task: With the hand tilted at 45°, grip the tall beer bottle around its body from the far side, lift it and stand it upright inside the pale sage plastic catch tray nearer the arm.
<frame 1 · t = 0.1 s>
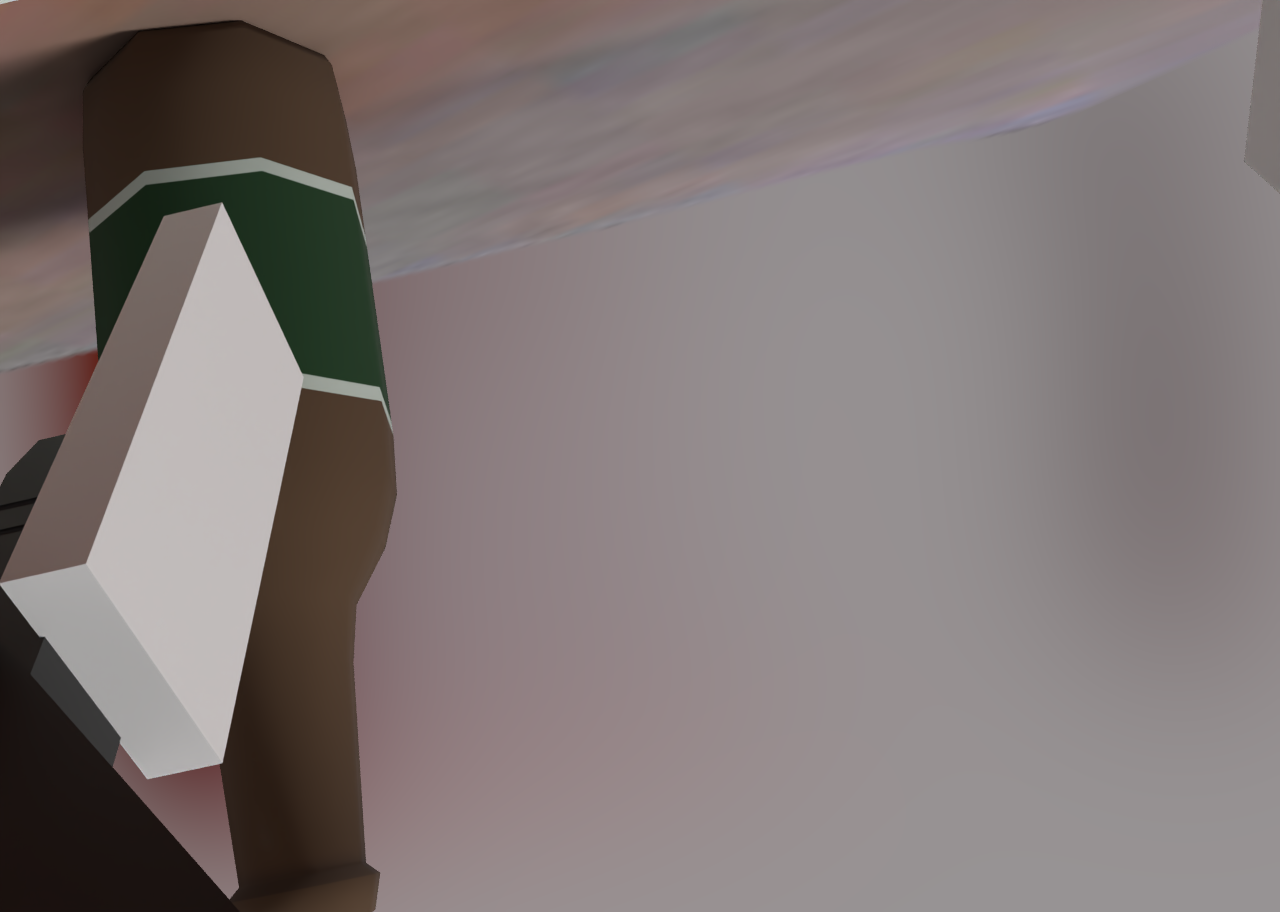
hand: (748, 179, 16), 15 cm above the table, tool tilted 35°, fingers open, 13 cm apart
beer bottle: (219, 89, 37), on the table
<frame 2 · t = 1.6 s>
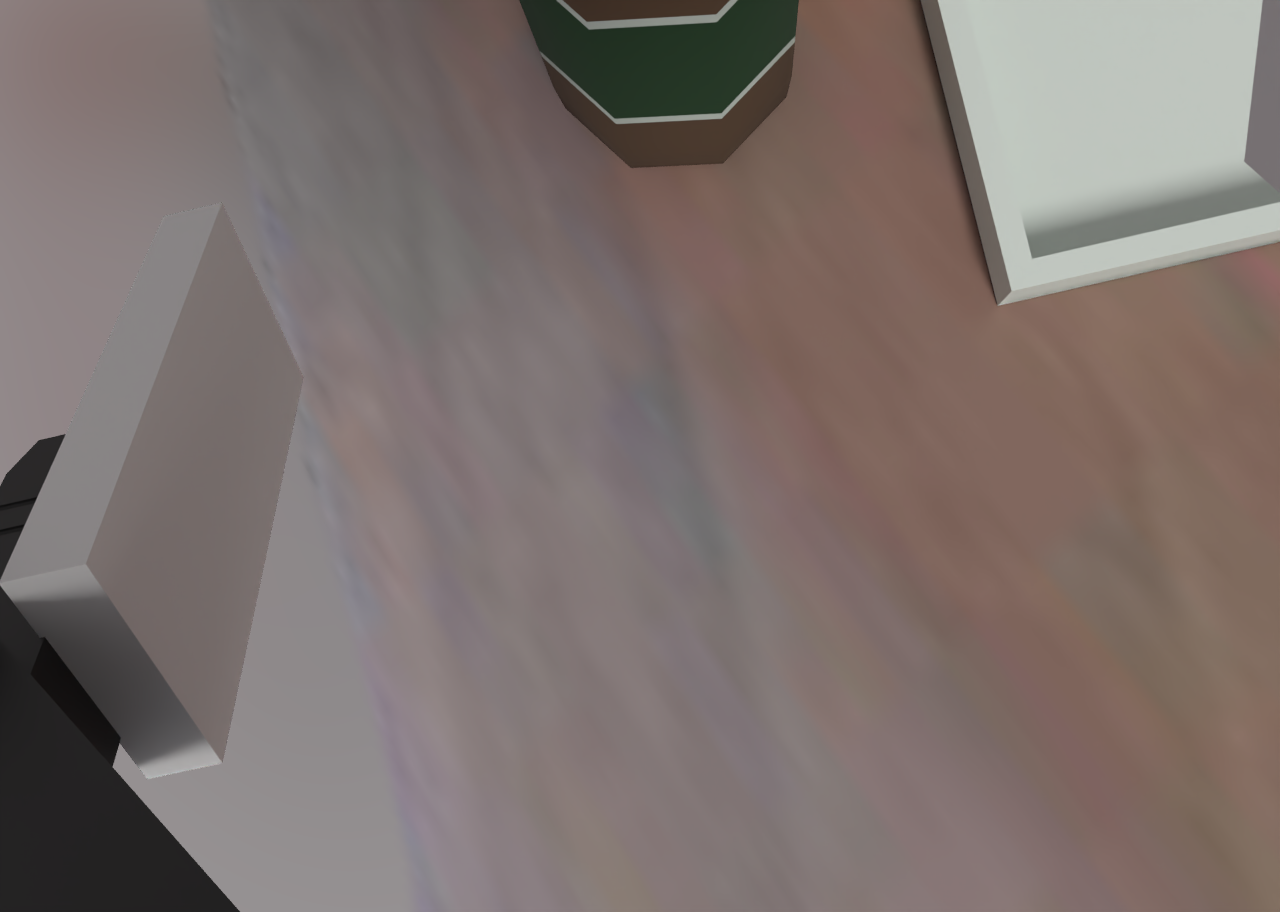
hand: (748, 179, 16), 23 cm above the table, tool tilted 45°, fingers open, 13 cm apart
beer bottle: (675, 66, 40), on the table
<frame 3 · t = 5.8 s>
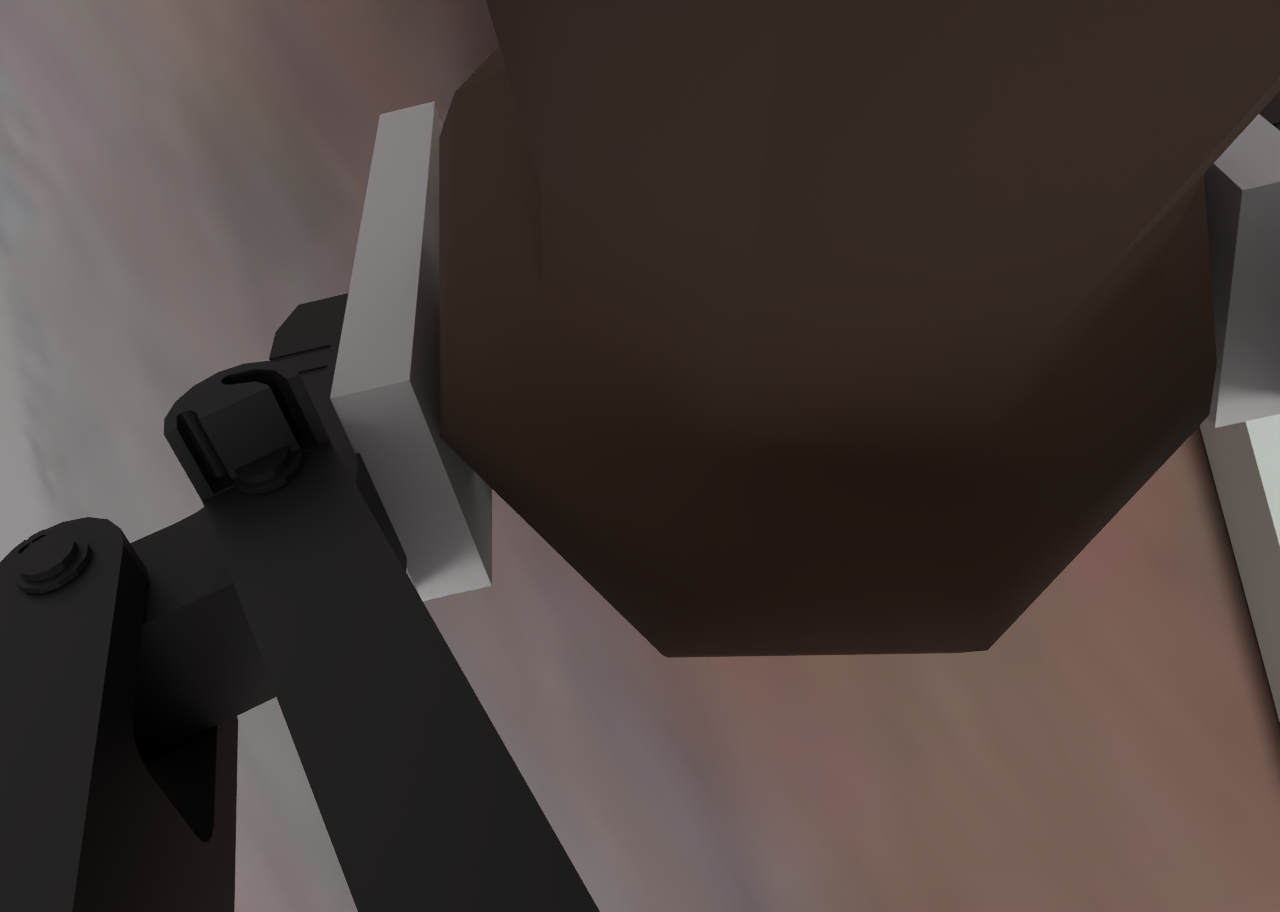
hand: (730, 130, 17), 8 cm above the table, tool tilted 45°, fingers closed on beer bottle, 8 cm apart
beer bottle: (769, 436, 24), on the table, touching gripper
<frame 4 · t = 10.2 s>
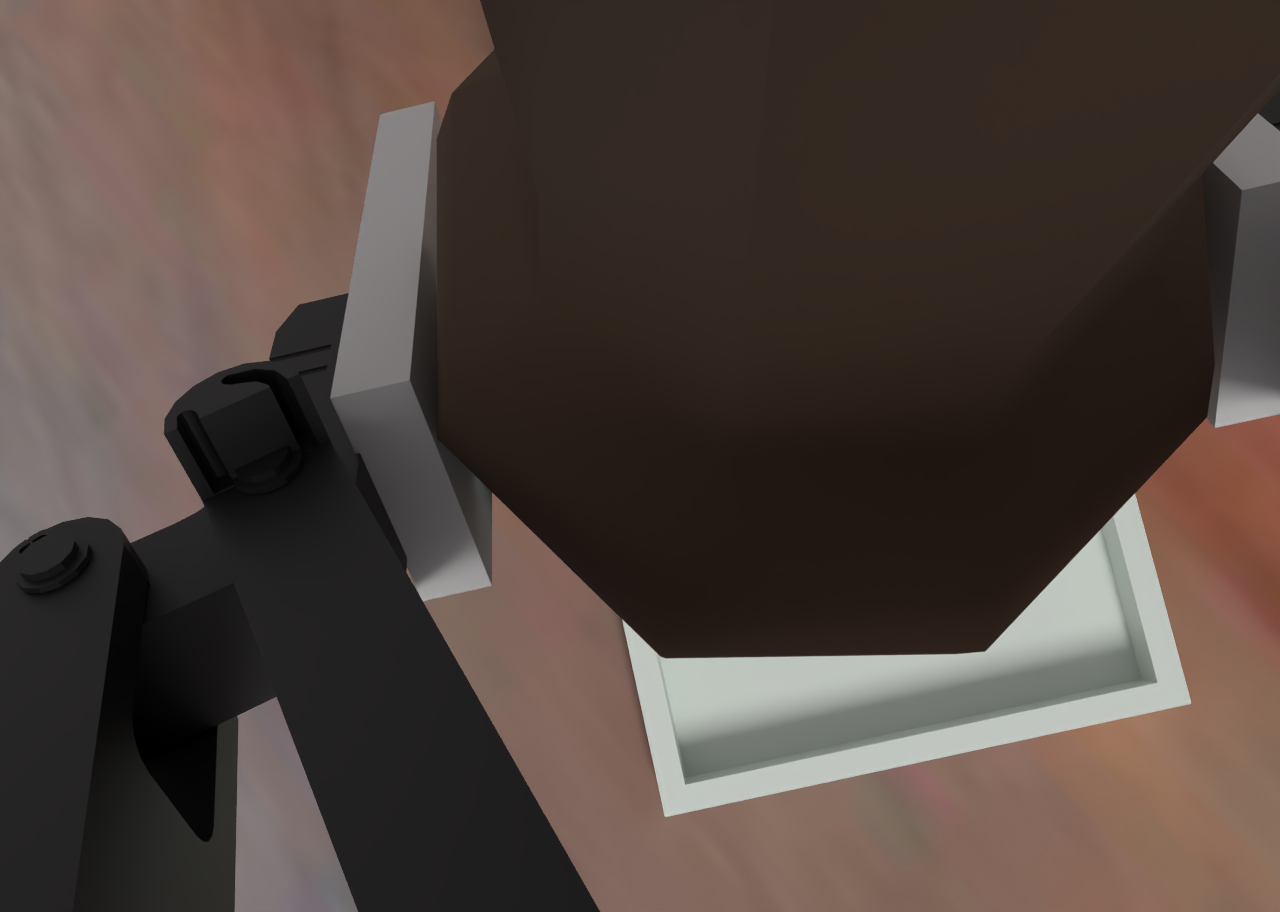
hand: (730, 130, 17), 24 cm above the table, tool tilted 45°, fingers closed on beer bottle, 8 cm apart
catch tray: (848, 474, 40), on the table
beer bottle: (768, 437, 24), point 16 cm above the table, touching gripper
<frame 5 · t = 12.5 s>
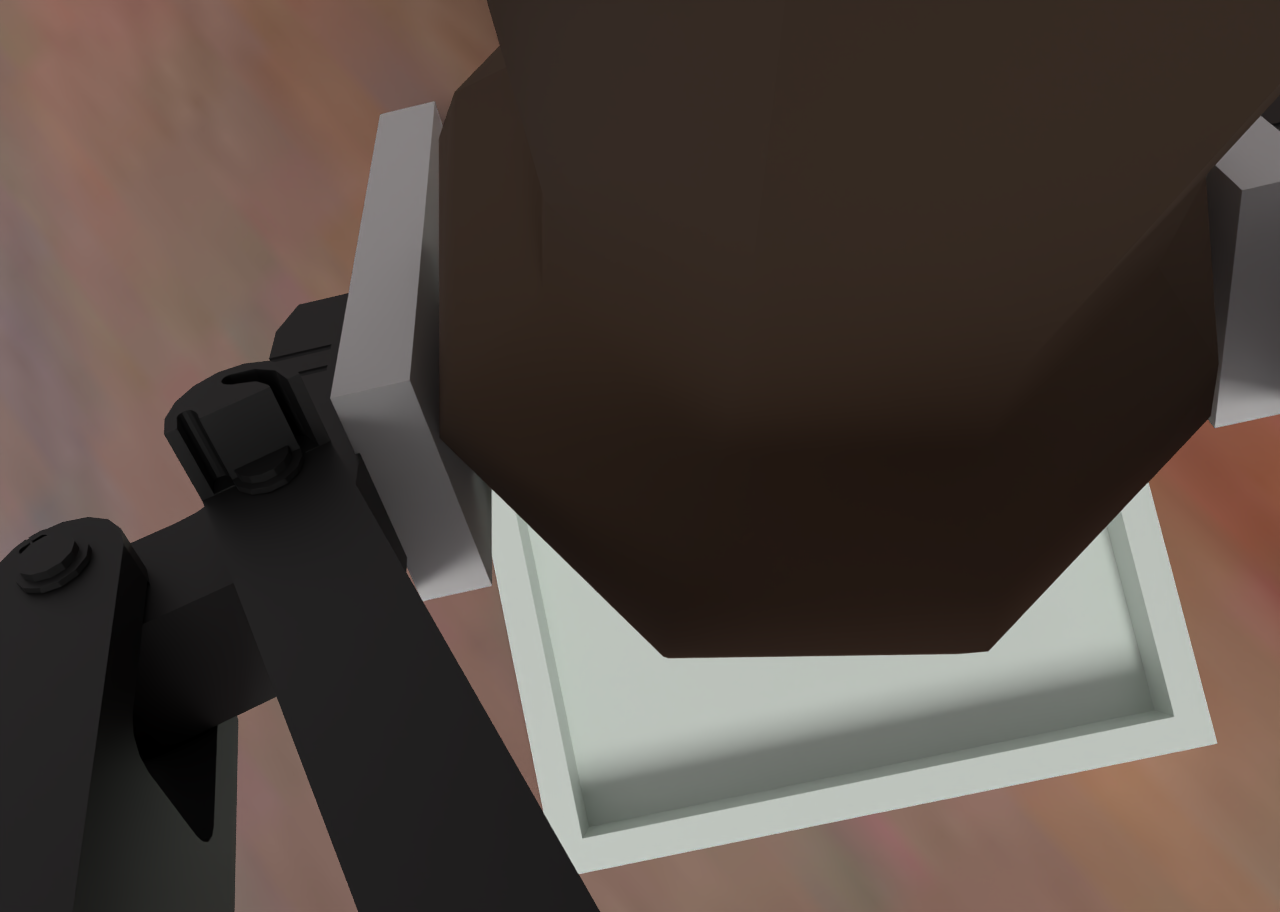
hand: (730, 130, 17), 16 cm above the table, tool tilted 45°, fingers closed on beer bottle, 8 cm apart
catch tray: (793, 454, 32), on the table
beer bottle: (769, 437, 24), point 8 cm above the table, touching gripper
when the fingers open (10 cm above the table, at t = 14.5 s): beer bottle drops 1 cm, resting on catch tray.
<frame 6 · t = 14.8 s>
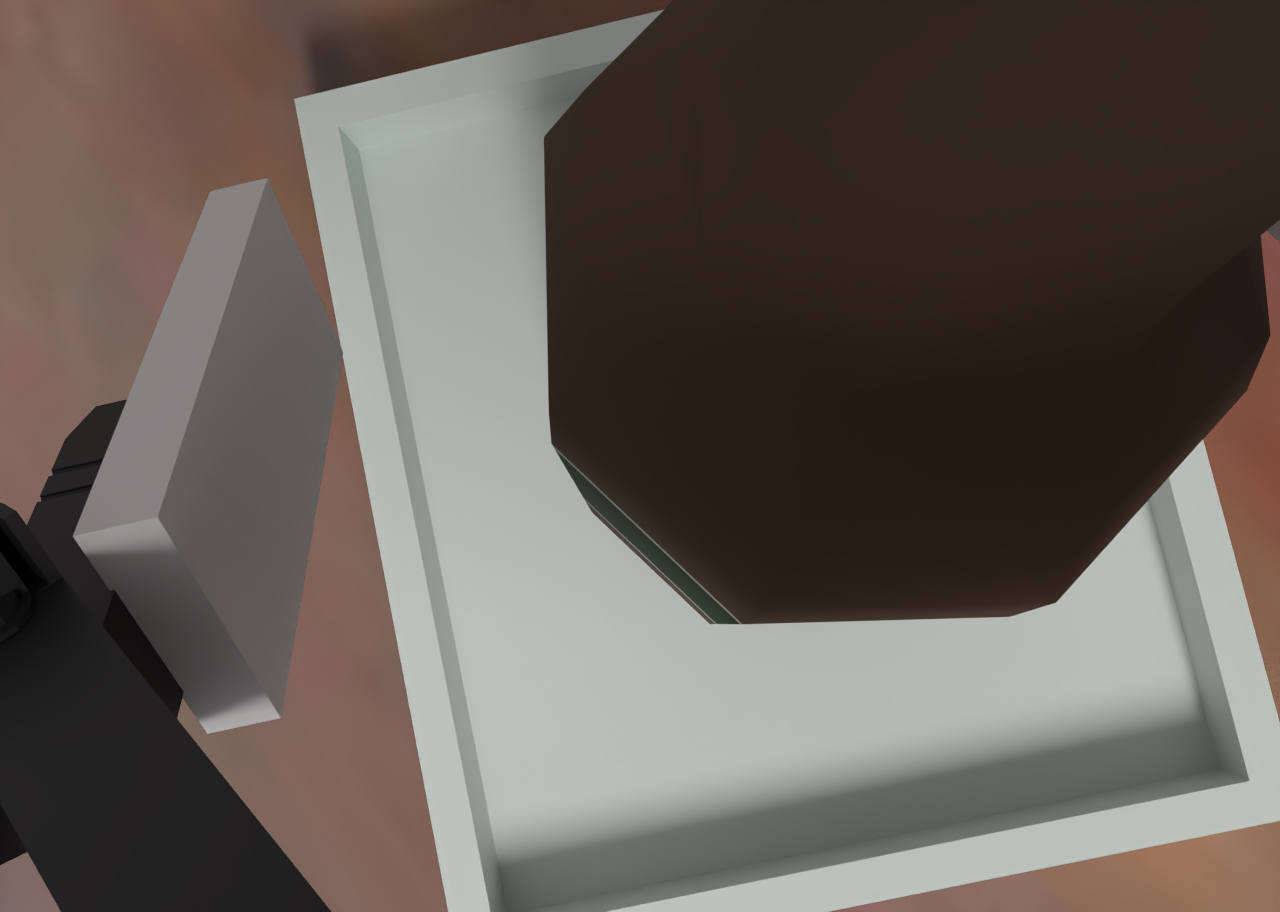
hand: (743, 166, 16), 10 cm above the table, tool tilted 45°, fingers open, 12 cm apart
catch tray: (766, 446, 26), on the table
beer bottle: (770, 446, 25), point 1 cm above the table, touching catch tray
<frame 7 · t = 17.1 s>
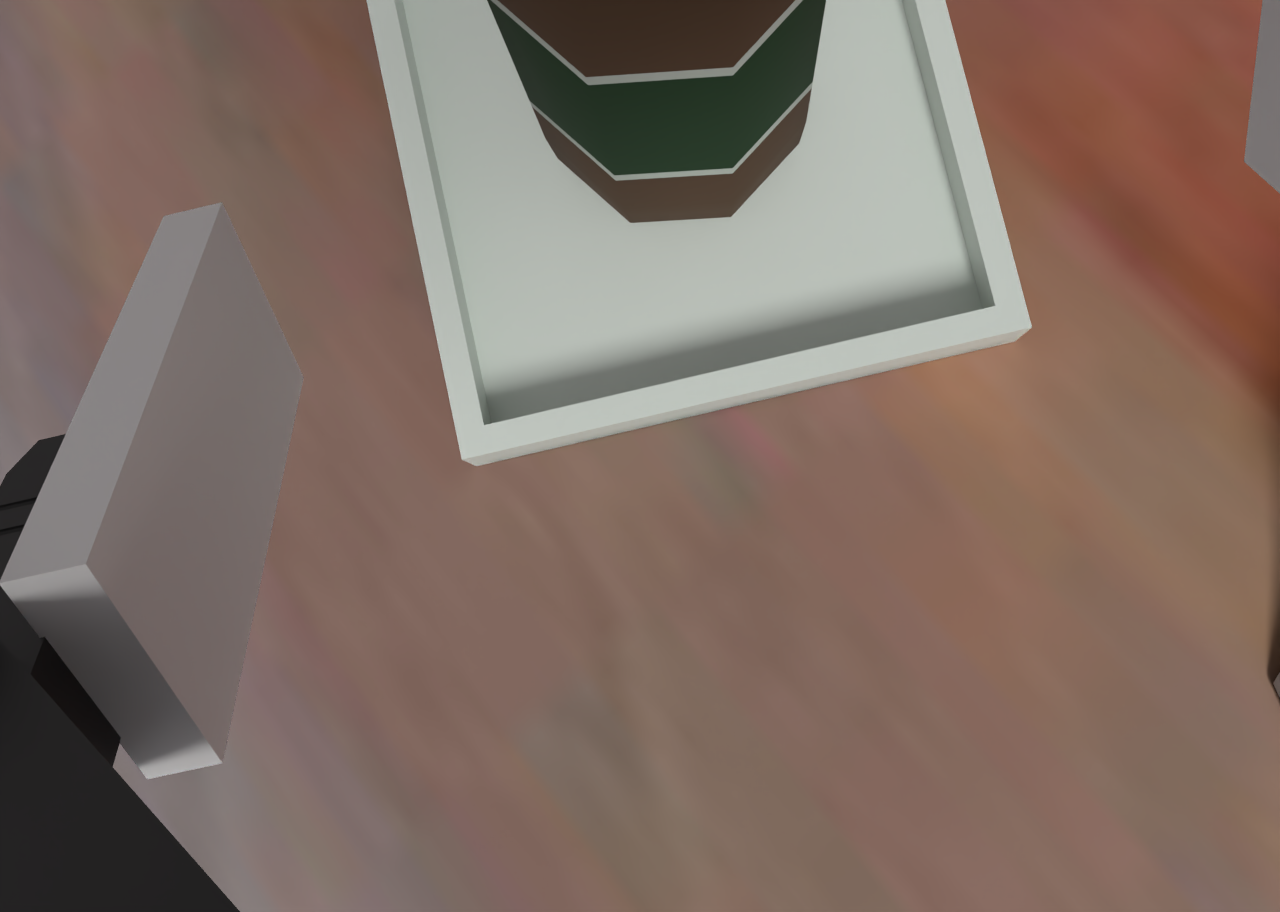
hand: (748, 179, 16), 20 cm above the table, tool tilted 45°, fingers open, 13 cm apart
catch tray: (674, 114, 37), on the table
beer bottle: (676, 110, 36), resting on catch tray
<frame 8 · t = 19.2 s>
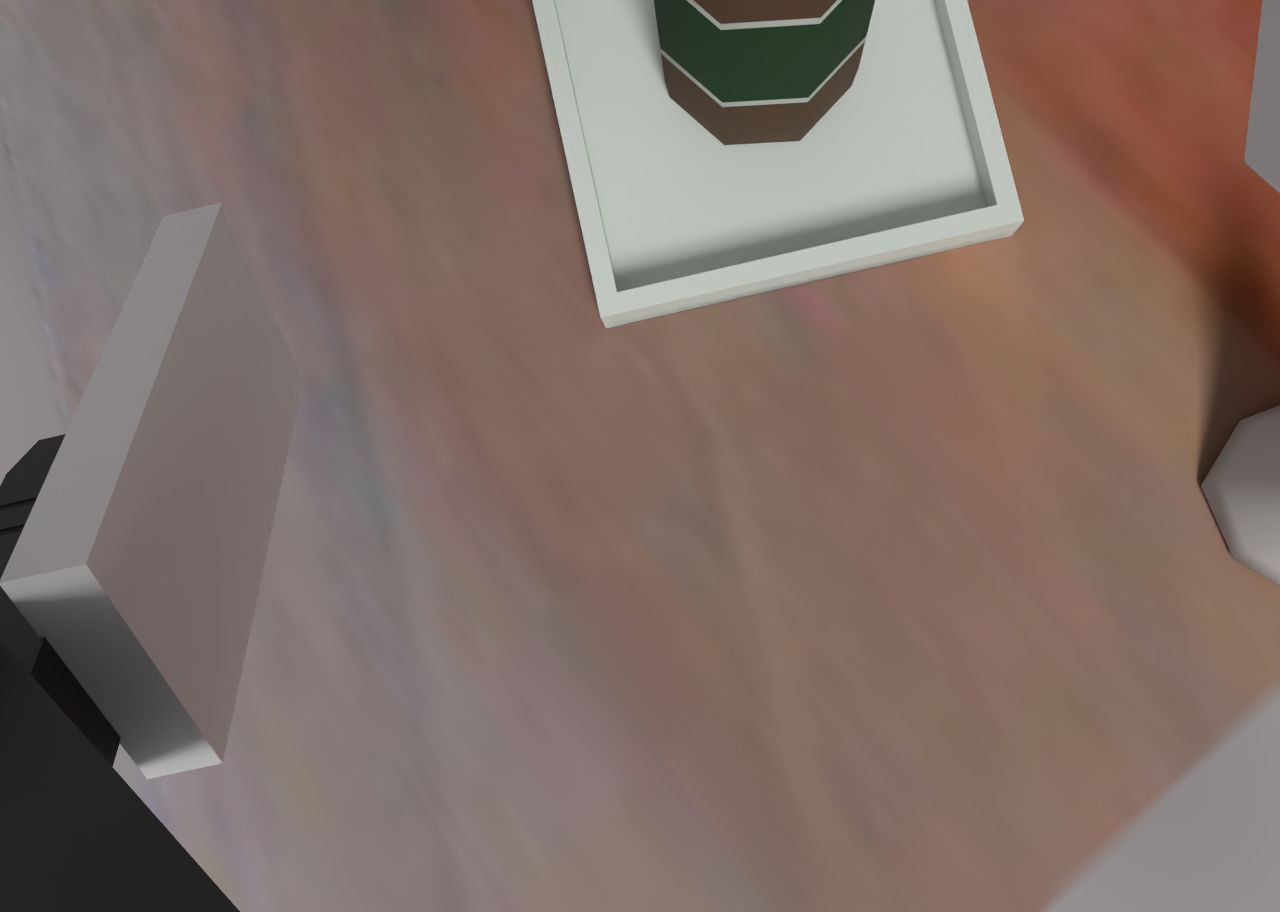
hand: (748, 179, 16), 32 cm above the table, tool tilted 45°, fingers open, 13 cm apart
catch tray: (755, 65, 49), on the table
beer bottle: (758, 62, 48), resting on catch tray
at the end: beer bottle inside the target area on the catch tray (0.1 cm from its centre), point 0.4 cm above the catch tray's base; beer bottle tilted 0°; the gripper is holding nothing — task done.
